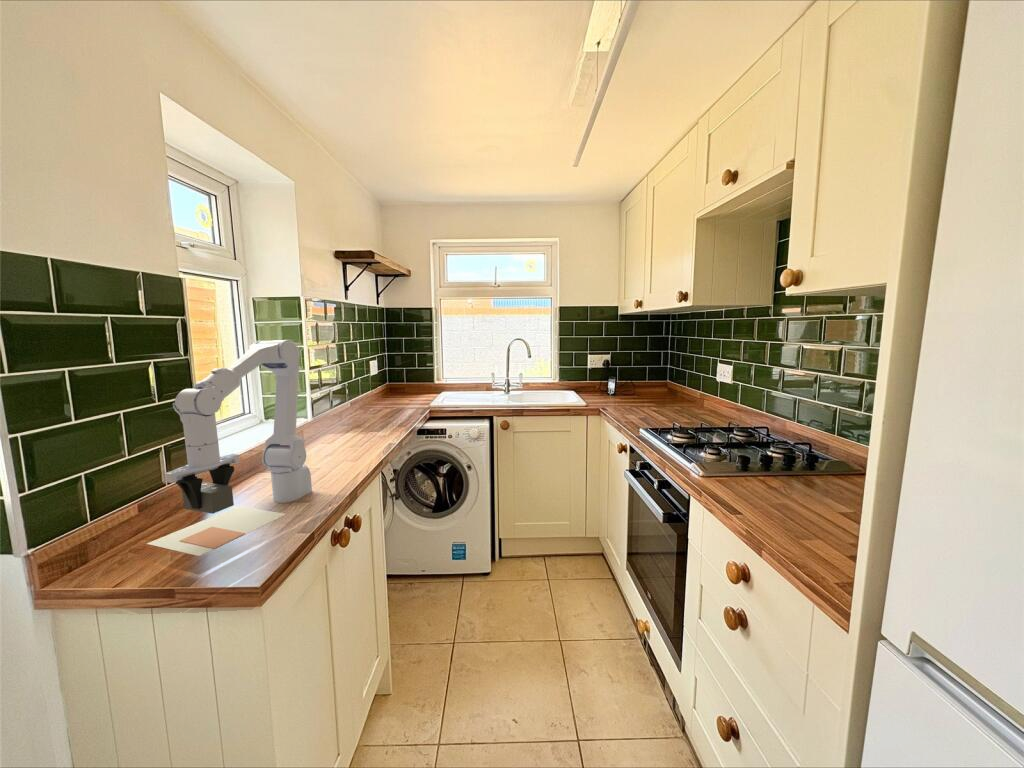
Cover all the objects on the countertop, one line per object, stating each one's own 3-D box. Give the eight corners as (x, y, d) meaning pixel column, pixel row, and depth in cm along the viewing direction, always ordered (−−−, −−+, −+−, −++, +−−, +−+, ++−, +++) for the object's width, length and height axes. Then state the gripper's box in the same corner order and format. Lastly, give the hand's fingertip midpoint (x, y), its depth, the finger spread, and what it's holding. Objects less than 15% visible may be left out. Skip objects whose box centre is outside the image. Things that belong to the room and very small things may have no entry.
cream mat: (238, 508, 111) (238, 505, 111) (286, 516, 105) (286, 513, 105) (146, 546, 91) (146, 542, 91) (199, 558, 85) (199, 555, 85)
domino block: (233, 505, 93) (231, 485, 93) (213, 513, 89) (210, 492, 88) (205, 500, 96) (203, 481, 96) (184, 508, 92) (181, 488, 91)
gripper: (222, 434, 99) (228, 489, 101) (152, 450, 86) (160, 514, 87) (243, 436, 97) (249, 492, 98) (175, 453, 83) (183, 518, 85)
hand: (209, 503), depth 93 cm, fingers closed on domino block, 5 cm apart
